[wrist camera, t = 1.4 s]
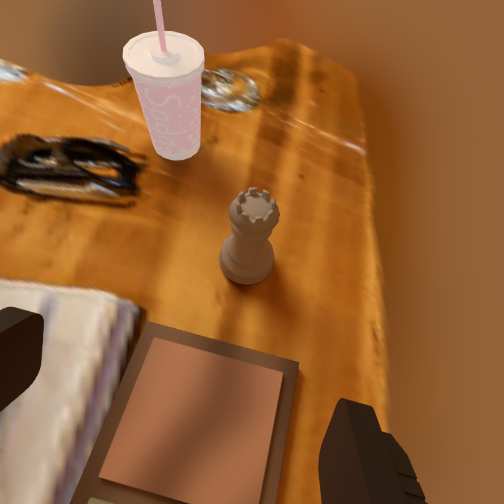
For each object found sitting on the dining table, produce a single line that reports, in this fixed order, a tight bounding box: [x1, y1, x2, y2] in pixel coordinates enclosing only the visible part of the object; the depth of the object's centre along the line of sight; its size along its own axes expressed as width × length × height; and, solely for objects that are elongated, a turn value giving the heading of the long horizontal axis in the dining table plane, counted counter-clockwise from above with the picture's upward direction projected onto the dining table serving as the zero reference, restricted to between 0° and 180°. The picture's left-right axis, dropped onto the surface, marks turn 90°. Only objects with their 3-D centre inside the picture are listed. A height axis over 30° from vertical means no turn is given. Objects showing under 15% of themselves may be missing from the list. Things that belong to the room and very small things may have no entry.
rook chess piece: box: [219, 187, 280, 285], centre depth 23 cm, size 4×4×8 cm
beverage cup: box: [123, 0, 204, 160], centre depth 26 cm, size 6×6×14 cm
